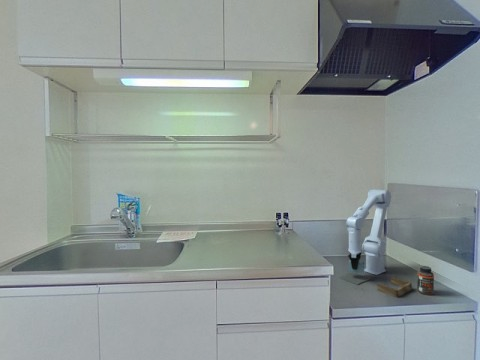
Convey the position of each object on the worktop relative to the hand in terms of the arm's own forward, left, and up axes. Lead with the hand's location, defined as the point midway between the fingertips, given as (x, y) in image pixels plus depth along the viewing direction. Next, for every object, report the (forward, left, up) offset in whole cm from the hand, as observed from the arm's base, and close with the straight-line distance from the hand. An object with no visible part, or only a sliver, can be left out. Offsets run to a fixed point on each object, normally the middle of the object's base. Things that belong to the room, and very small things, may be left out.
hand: (355, 267), depth 134 cm
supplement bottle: (-11, +27, -6) cm, 30 cm away
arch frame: (-3, +17, -6) cm, 18 cm away
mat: (0, 0, -6) cm, 6 cm away
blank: (0, 0, -2) cm, 2 cm away
